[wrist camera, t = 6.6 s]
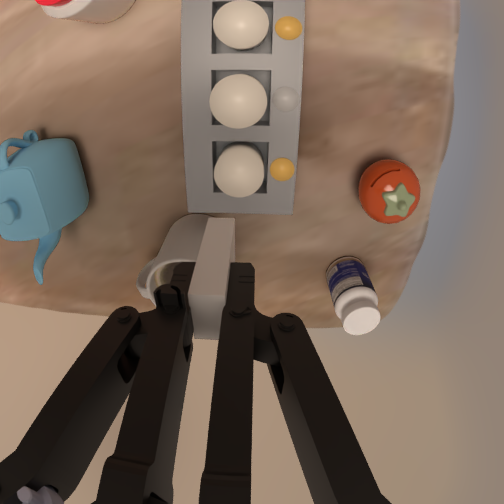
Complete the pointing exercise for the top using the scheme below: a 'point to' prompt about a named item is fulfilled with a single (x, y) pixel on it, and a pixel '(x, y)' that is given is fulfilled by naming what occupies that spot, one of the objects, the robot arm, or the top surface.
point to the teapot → (40, 192)
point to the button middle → (238, 101)
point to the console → (262, 132)
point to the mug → (173, 253)
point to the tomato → (389, 191)
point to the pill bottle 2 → (353, 295)
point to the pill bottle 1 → (86, 9)
